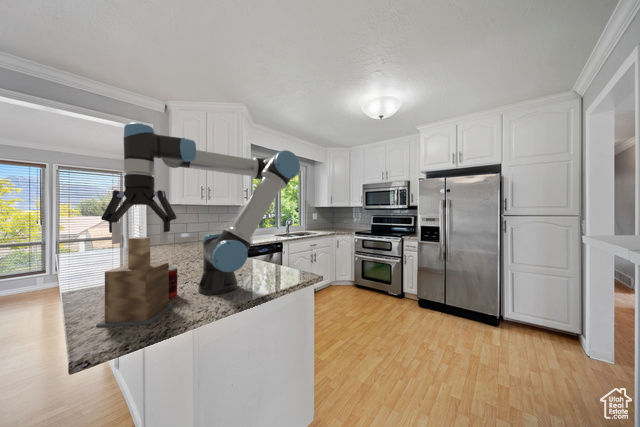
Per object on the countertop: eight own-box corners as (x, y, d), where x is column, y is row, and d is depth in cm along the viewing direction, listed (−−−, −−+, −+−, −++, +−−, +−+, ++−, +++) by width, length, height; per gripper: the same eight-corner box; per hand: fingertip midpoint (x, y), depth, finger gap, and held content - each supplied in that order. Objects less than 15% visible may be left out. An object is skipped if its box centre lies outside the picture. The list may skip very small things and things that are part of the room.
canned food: (162, 293, 94) (162, 266, 94) (181, 294, 94) (181, 266, 94) (147, 300, 87) (147, 270, 87) (168, 301, 86) (169, 270, 87)
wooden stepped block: (168, 305, 81) (168, 235, 81) (148, 320, 70) (148, 239, 70) (131, 306, 80) (131, 236, 80) (104, 322, 68) (104, 240, 68)
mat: (173, 305, 82) (173, 303, 82) (150, 323, 69) (150, 321, 69) (129, 307, 81) (129, 305, 81) (96, 326, 67) (96, 324, 67)
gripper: (187, 177, 80) (187, 240, 80) (104, 176, 77) (105, 242, 77) (176, 173, 73) (177, 243, 73) (84, 172, 69) (85, 245, 69)
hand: (140, 243), depth 75 cm, fingers open, 13 cm apart
